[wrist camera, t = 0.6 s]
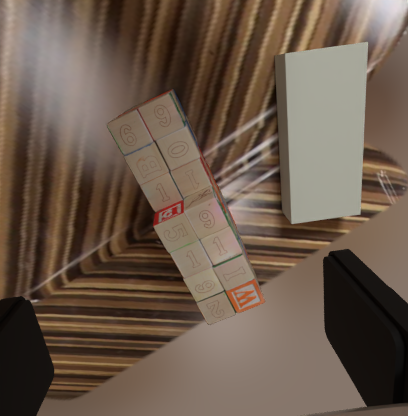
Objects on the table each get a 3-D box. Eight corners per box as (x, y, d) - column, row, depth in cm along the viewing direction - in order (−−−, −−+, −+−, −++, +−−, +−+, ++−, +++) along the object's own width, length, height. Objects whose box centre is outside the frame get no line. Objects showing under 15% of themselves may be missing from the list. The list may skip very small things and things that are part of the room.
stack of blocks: (122, 111, 37) (96, 127, 26) (174, 87, 37) (170, 92, 25) (201, 263, 45) (208, 328, 34) (245, 245, 44) (267, 304, 33)
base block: (274, 55, 36) (285, 53, 32) (348, 45, 36) (367, 41, 32) (282, 211, 43) (291, 224, 39) (344, 202, 43) (360, 214, 39)
